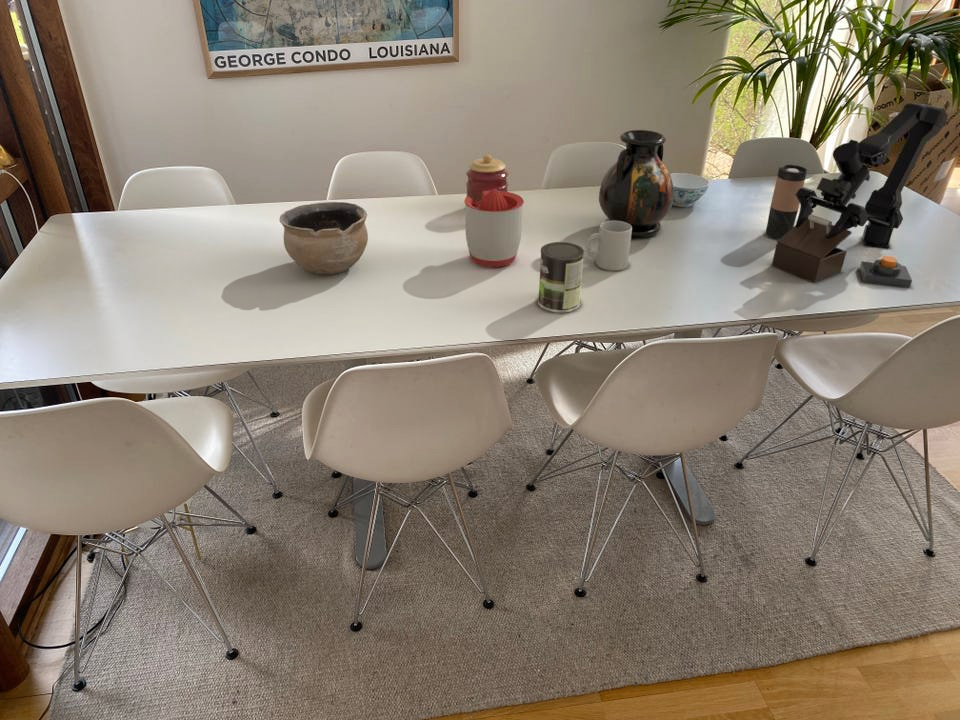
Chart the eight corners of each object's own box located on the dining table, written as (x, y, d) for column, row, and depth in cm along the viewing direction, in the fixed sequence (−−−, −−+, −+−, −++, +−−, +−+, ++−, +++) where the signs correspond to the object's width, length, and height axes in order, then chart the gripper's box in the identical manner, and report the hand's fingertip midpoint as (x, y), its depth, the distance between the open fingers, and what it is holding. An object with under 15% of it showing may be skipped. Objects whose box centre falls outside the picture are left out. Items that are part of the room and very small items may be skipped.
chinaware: (710, 212, 244) (714, 188, 240) (662, 211, 244) (666, 187, 240) (699, 196, 256) (703, 173, 252) (654, 195, 256) (657, 172, 252)
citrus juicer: (488, 241, 222) (489, 173, 211) (533, 259, 211) (536, 189, 201) (448, 257, 212) (447, 186, 202) (493, 276, 202) (494, 203, 191)
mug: (620, 256, 213) (624, 219, 208) (632, 269, 206) (637, 230, 201) (579, 260, 211) (582, 222, 205) (590, 273, 204) (594, 234, 198)
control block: (903, 273, 206) (907, 259, 204) (909, 288, 198) (914, 273, 196) (859, 268, 208) (863, 255, 206) (863, 282, 201) (867, 268, 199)
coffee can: (541, 313, 184) (544, 259, 177) (535, 294, 193) (537, 242, 186) (583, 312, 185) (588, 258, 178) (575, 293, 194) (579, 241, 187)
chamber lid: (807, 217, 209) (806, 203, 206) (851, 233, 200) (851, 218, 196) (776, 243, 206) (775, 228, 203) (820, 260, 197) (820, 245, 194)
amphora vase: (637, 249, 218) (649, 151, 203) (581, 227, 232) (588, 133, 217) (683, 230, 230) (698, 136, 215) (627, 211, 244) (637, 121, 229)
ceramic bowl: (299, 291, 193) (292, 235, 185) (276, 259, 210) (269, 207, 202) (382, 275, 202) (379, 220, 194) (354, 245, 219) (350, 194, 211)
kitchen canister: (514, 207, 245) (516, 152, 236) (493, 220, 236) (494, 163, 227) (480, 199, 251) (480, 145, 242) (458, 211, 242) (457, 156, 233)
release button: (893, 263, 202) (896, 257, 201) (896, 269, 199) (898, 262, 198) (879, 261, 203) (881, 255, 202) (881, 267, 200) (883, 260, 199)
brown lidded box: (797, 255, 215) (803, 234, 212) (840, 272, 206) (846, 251, 202) (771, 265, 210) (776, 243, 206) (814, 283, 200) (820, 260, 197)
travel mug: (793, 241, 224) (809, 173, 214) (766, 238, 225) (780, 171, 215) (789, 231, 230) (805, 165, 220) (763, 229, 232) (777, 163, 221)
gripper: (808, 156, 202) (772, 205, 202) (873, 176, 188) (835, 227, 189) (819, 180, 210) (784, 227, 210) (883, 200, 196) (846, 250, 197)
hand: (811, 232), depth 201 cm, fingers open, 9 cm apart
